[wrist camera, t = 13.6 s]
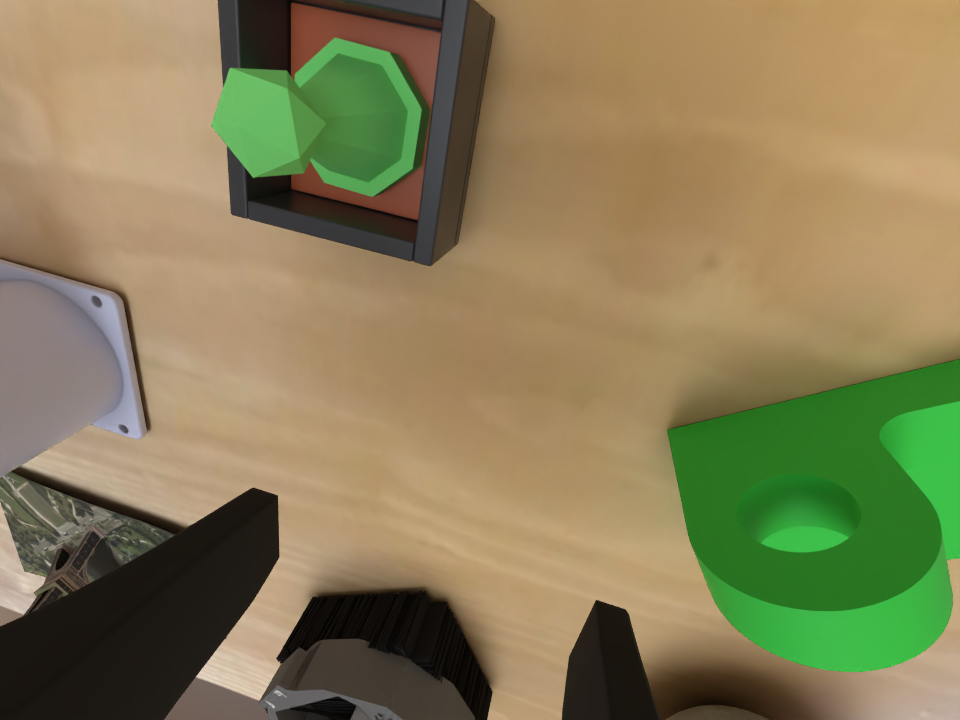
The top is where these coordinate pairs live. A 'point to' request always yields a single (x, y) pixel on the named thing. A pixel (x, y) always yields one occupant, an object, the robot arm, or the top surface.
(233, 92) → the game piece
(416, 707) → the cpu cooler
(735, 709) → the decorative ball
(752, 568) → the mechanical part
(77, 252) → the top surface
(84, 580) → the eiffel tower figurine
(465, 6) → the pad holder
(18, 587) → the top surface
